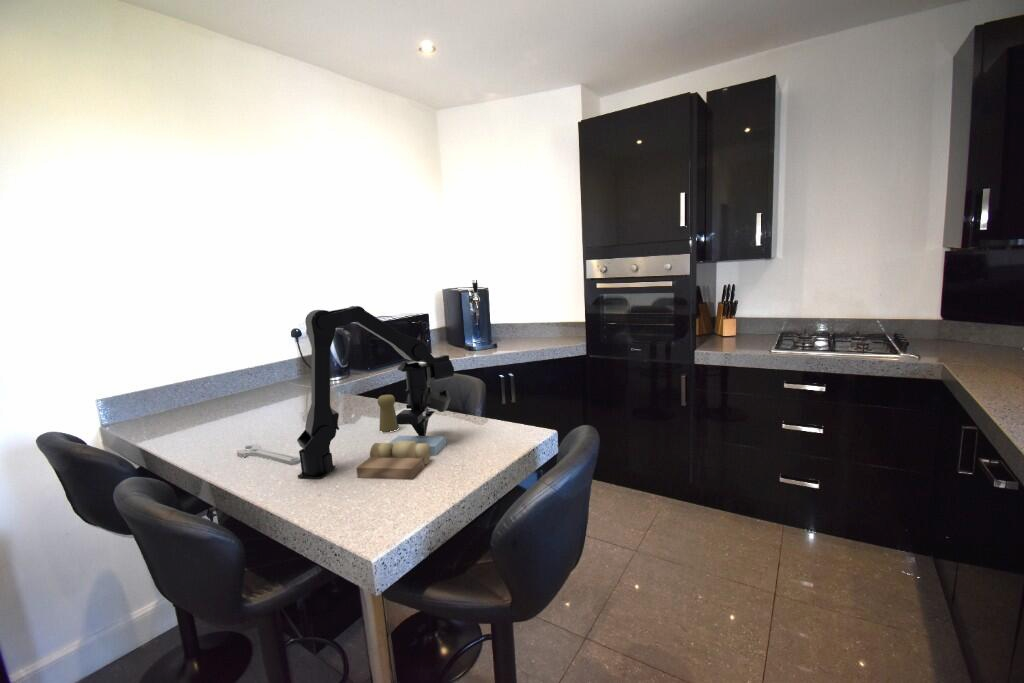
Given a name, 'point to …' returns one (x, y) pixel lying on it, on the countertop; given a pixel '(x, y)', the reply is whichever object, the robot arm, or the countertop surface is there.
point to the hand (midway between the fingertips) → (422, 438)
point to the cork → (387, 413)
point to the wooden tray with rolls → (394, 462)
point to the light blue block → (404, 441)
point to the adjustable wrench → (268, 454)
